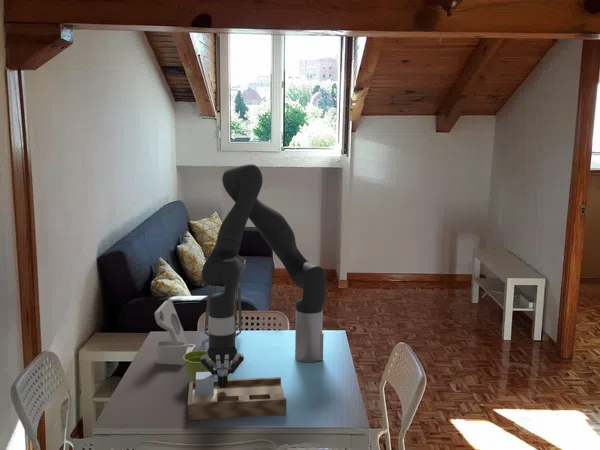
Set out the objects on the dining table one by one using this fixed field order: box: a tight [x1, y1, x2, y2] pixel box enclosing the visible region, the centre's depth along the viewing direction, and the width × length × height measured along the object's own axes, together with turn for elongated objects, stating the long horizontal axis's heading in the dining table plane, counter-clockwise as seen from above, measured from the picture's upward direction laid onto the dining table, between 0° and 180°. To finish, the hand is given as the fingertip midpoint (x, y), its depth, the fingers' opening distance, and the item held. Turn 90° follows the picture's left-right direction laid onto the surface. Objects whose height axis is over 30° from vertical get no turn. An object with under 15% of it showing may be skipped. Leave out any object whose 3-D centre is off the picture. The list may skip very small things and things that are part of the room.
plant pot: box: [183, 350, 213, 383], centre depth 189 cm, size 9×9×9 cm
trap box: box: [187, 376, 287, 421], centre depth 175 cm, size 27×15×4 cm, turn 98°
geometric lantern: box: [203, 254, 247, 339], centre depth 223 cm, size 16×16×35 cm
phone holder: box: [154, 299, 196, 365], centre depth 210 cm, size 17×10×18 cm, turn 177°
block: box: [196, 372, 215, 396], centre depth 176 cm, size 5×5×5 cm
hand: (222, 386), depth 177 cm, fingers closed
